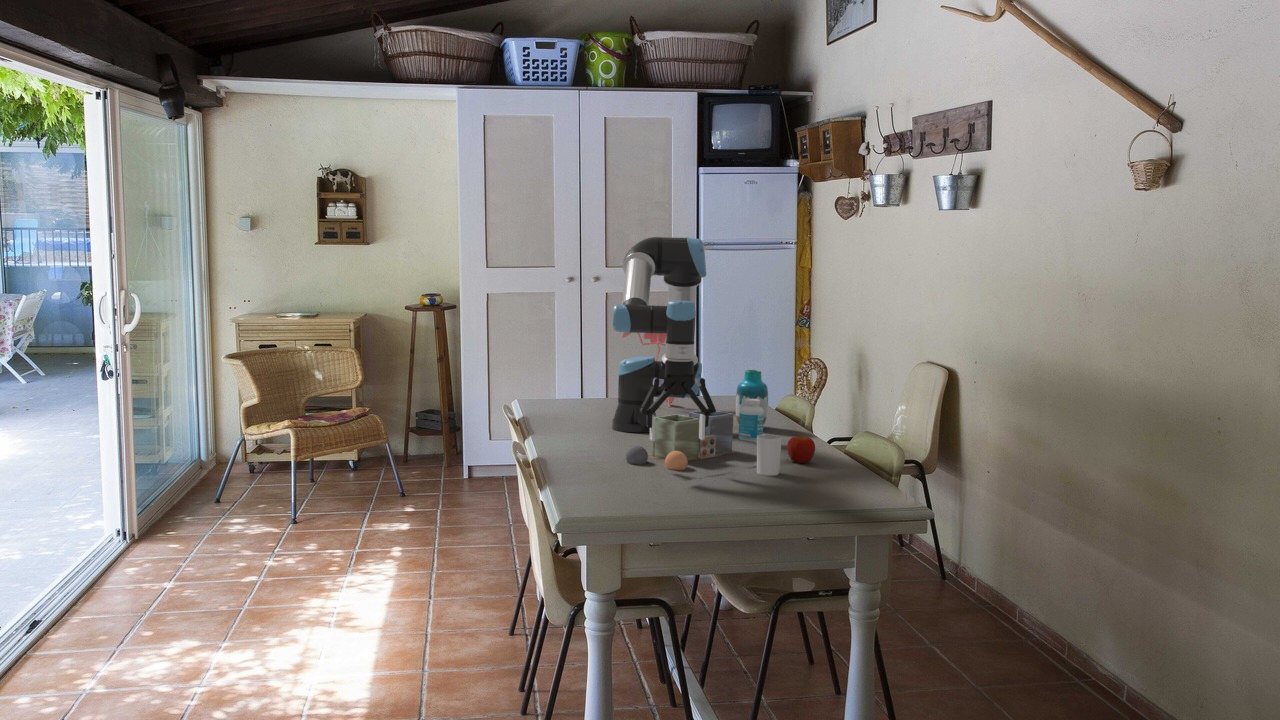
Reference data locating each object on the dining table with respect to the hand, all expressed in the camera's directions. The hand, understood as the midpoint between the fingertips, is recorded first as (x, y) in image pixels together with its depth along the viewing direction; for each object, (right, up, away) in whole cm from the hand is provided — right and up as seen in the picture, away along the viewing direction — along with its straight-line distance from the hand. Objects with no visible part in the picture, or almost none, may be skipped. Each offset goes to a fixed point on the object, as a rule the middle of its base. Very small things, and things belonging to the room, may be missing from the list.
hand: (677, 439), depth 270 cm
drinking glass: (+25, -10, +4) cm, 27 cm away
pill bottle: (+24, -5, +44) cm, 50 cm away
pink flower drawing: (-5, +4, +110) cm, 110 cm away
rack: (+5, -7, +19) cm, 21 cm away
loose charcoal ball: (-11, -8, +7) cm, 15 cm away
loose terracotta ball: (0, -9, +1) cm, 9 cm away
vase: (+27, -2, +68) cm, 73 cm away
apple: (+36, -8, +19) cm, 41 cm away
